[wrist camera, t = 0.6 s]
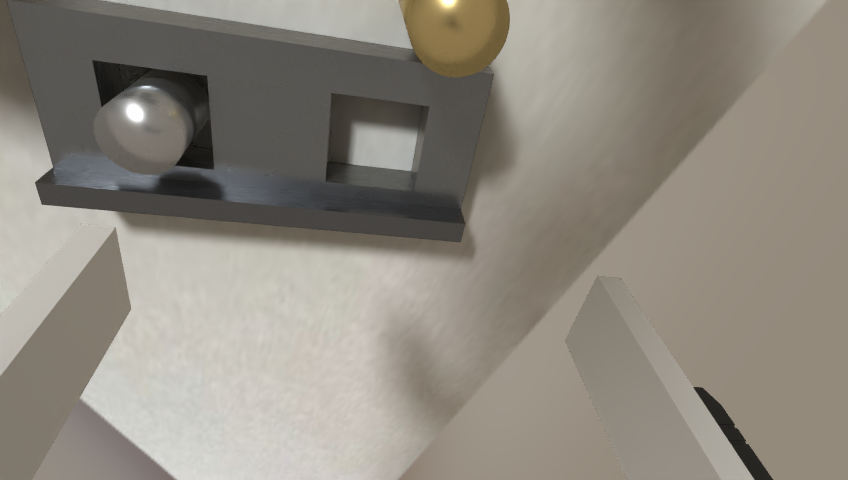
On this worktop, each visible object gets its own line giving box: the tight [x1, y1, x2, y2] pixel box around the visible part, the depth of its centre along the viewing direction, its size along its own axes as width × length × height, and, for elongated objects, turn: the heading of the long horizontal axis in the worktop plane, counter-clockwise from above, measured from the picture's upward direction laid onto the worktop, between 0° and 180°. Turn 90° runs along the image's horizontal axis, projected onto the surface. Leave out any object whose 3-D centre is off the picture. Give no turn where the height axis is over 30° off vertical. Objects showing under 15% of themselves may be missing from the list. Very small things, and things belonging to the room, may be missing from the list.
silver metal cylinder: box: [93, 69, 210, 175], centre depth 29 cm, size 4×4×6 cm
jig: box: [7, 0, 494, 242], centre depth 30 cm, size 11×26×5 cm, turn 80°
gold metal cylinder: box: [398, 0, 510, 77], centre depth 25 cm, size 4×4×10 cm
